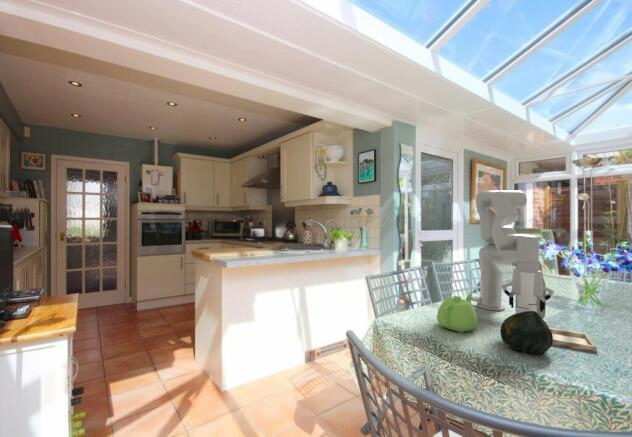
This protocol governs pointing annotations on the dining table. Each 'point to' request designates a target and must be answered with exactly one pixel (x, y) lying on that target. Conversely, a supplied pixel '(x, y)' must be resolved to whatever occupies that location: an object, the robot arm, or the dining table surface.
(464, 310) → the teapot
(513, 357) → the dining table surface
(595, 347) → the wooden tray
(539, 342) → the squash
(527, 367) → the dining table surface
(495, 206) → the robot arm
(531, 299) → the cylindrical container
